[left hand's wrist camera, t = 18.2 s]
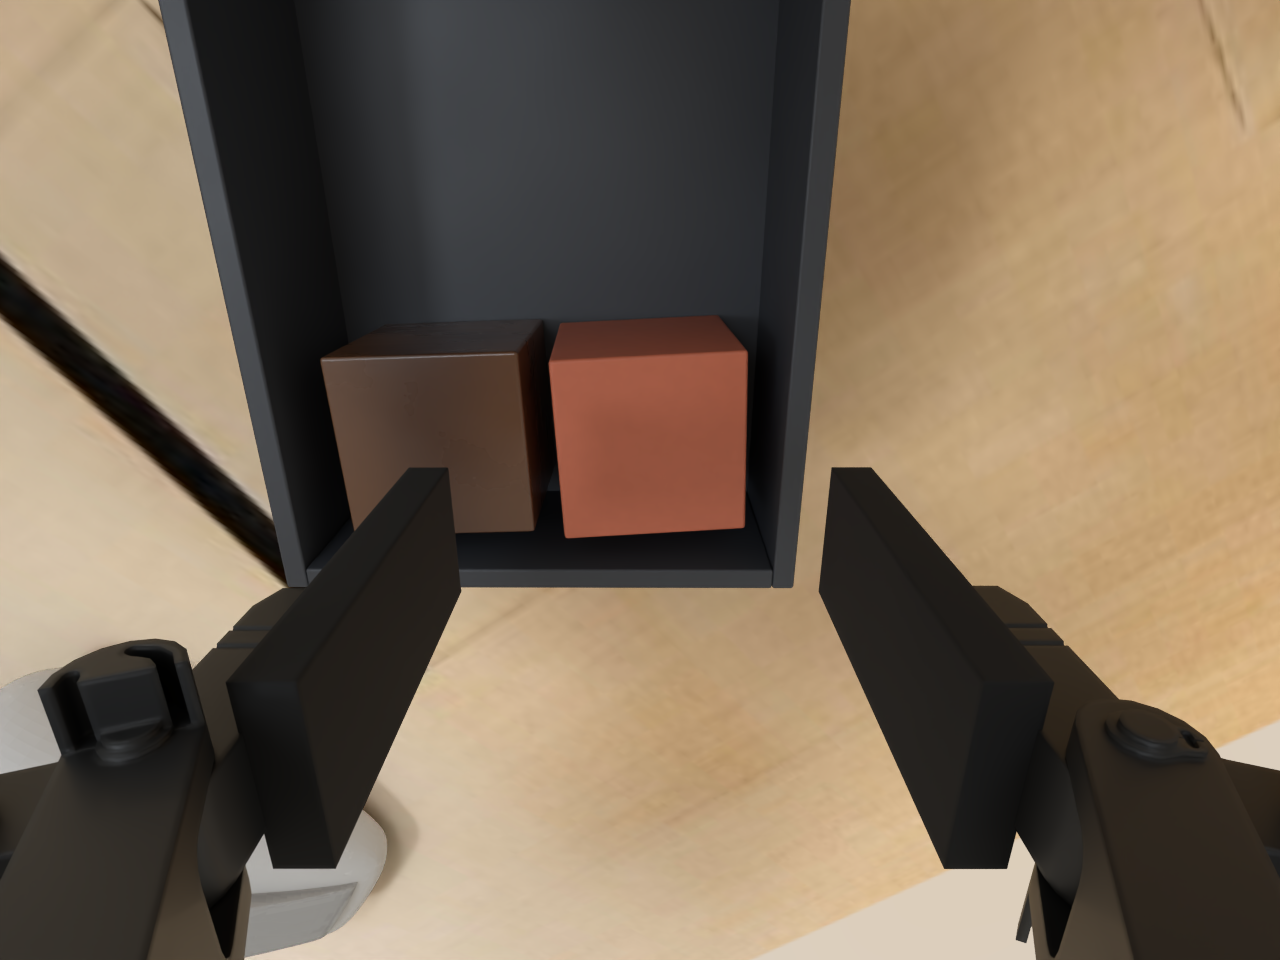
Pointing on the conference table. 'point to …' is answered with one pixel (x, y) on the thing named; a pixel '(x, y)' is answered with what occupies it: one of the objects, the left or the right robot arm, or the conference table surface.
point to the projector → (281, 898)
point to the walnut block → (446, 417)
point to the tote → (518, 223)
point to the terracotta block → (650, 425)
